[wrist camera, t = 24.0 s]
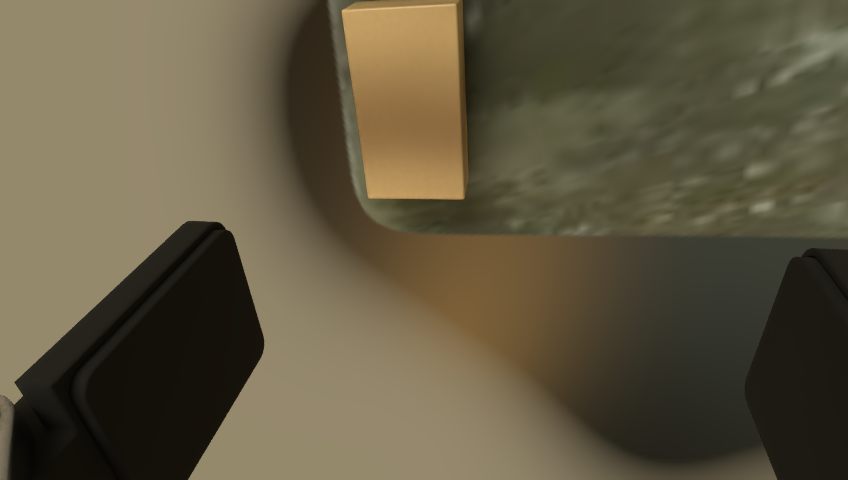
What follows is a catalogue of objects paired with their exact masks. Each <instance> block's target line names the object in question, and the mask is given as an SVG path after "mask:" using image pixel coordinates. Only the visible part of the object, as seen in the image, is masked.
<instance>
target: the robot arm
mask: <svg viewBox="0 0 848 480" xmlns="http://www.w3.org/2000/svg"><path fill="white" fill-rule="evenodd" d="M263 350H264V337H263V333H262V330H261V327H260V324H259V320H258V317H257V313H256V310H255V306H254V303H253V300H252V296H251V293H250V289H249V286H248V283H247V280H246V276H245V273H244V269H243V266H242V262H241V259H240V256H239V252H238V249H237V246H236V242H235V239H234V236H233V234H232V233H231V232H230V231H228V230H226V229H225V227H224V226H223V225H222V224H221V223H219V222H204V221H188V222H186V223H185V224H183V225H182V226H181V227H180V228H179V229H178V230H176V231H175V232H174V233H173V234H172V235H171V236H170V237H169V238H168V239H167V240H166V241H165V242H164V243H163V244H162V245H160V246H159V247H158V248H157V249H156V250H155V251H154V252H153V253H152V254H151V255H150V256H149V257H148V258H147V259H146V260H145V261H144V262H142V263H141V264H140V265H139V266H138V267H137V268H136V269H135V270H134V271H133V272H132V273H131V274H130V275H128V276H127V277H126V278H125V279H124V280H123V281H122V282H121V283H120V284H119V285H118V286H117V287H116V288H115V289H114V290H113V291H111V292H110V293H109V294H108V295H107V296H106V297H105V298H104V299H103V300H102V301H101V302H100V303H99V304H97V305H96V307H94V308H93V309H92V310H91V311H90V312H89V313H88V314H87V315H86V316H85V317H84V318H83V319H81V320H80V321H79V322H78V323H77V324H76V325H75V326H74V327H73V328H72V329H71V330H70V331H69V332H68V333H67V334H66V335H64V336H63V337H62V338H61V339H60V340H59V341H58V342H57V343H56V344H55V345H54V346H53V347H52V348H51V349H49V351H47V352H46V353H45V354H44V355H43V356H42V357H41V358H40V359H39V360H38V361H37V362H36V363H35V364H33V365H32V366H31V367H30V368H29V369H28V370H27V371H26V372H25V373H24V374H23V375H22V376H21V377H20V378H19V379H17V380H16V381H15V384H16V385H17V387H18V388H19V390H20V391H21V393H22V394H23V397H22V398H21V399H20V400H19V401H18V402H17V403H16V404H15V405H14V404H13V403H12V402H11V401H10V400H9V399H8V398H7V397H5V396H2V395H0V480H188V478H189V477H190V475H191V474H192V472H193V470H194V469H195V467H196V465H197V464H198V462H199V460H200V458H201V457H202V455H203V453H204V452H205V450H206V449H207V447H208V445H209V444H210V442H211V440H212V439H213V437H214V435H215V434H216V432H217V430H218V428H219V427H220V425H221V423H222V422H223V420H224V418H225V417H226V415H227V413H228V412H229V410H230V408H231V407H232V405H233V403H234V402H235V400H236V398H237V397H238V395H239V393H240V392H241V390H242V388H243V387H244V385H245V383H246V382H247V380H248V378H249V377H250V375H251V373H252V372H253V370H254V368H255V367H256V365H257V363H258V362H259V360H260V358H261V356H262V354H263ZM745 397H746V401H747V404H748V407H749V409H750V412H751V414H752V417H753V419H754V422H755V424H756V427H757V430H758V432H759V434H760V437H761V439H762V442H763V444H764V447H765V449H766V452H767V454H768V457H769V460H770V462H771V465H772V467H773V469H774V472H775V475H776V477H777V480H848V250H840V249H819V248H811V249H808V250H807V251H806V252H805V253H804V254H803V255H802V257H794V258H792V260H791V261H790V262H789V264H788V267H787V269H786V272H785V275H784V277H783V280H782V283H781V285H780V288H779V291H778V294H777V296H776V299H775V302H774V304H773V307H772V310H771V313H770V315H769V318H768V321H767V324H766V326H765V329H764V332H763V334H762V337H761V340H760V343H759V345H758V348H757V351H756V353H755V356H754V359H753V361H752V364H751V367H750V370H749V372H748V375H747V378H746V381H745Z"/></svg>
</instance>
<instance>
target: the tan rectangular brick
mask: <svg viewBox="0 0 848 480" xmlns="http://www.w3.org/2000/svg"><path fill="white" fill-rule="evenodd" d="M342 18H343V25H344V32H345V39H346V46H347V53H348V60H349V67H350V74H351V81H352V88H353V95H354V102H355V109H356V116H357V123H358V130H359V137H360V144H361V151H362V158H363V165H364V172H365V179H366V186H367V193H368V198H376V199H464V198H465V193H466V189H467V184H468V180H469V178H468V148H467V118H466V89H465V59H464V29H463V0H381V1H363V2H355V3H354V4H352V5H350V6H348V7H347V8H345V9H343V10H342Z"/></svg>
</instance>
